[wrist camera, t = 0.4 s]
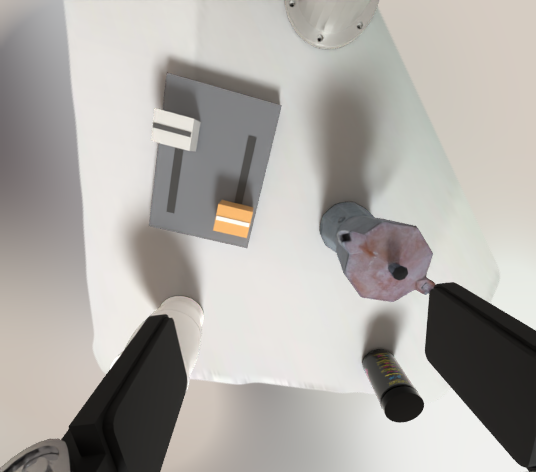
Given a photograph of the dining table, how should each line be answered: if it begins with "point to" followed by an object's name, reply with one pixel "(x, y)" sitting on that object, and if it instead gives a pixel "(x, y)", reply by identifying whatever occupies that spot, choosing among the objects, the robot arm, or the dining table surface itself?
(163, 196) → the console
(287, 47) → the dining table surface
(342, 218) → the moka pot
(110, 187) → the dining table surface
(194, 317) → the jar
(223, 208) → the orange fader
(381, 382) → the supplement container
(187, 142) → the block
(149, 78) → the dining table surface
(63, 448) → the robot arm
